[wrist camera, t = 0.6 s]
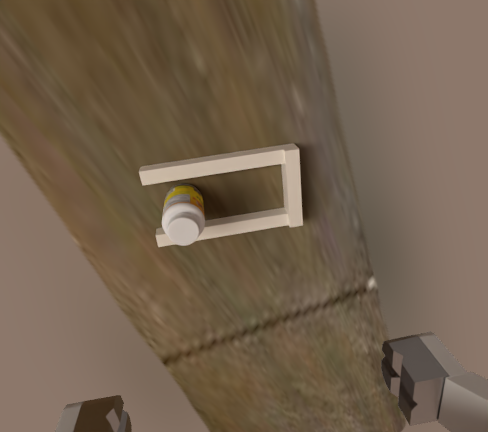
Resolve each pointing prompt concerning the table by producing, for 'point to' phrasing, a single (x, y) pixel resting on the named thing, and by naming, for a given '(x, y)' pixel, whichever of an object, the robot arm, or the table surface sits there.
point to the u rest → (235, 162)
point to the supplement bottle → (183, 214)
